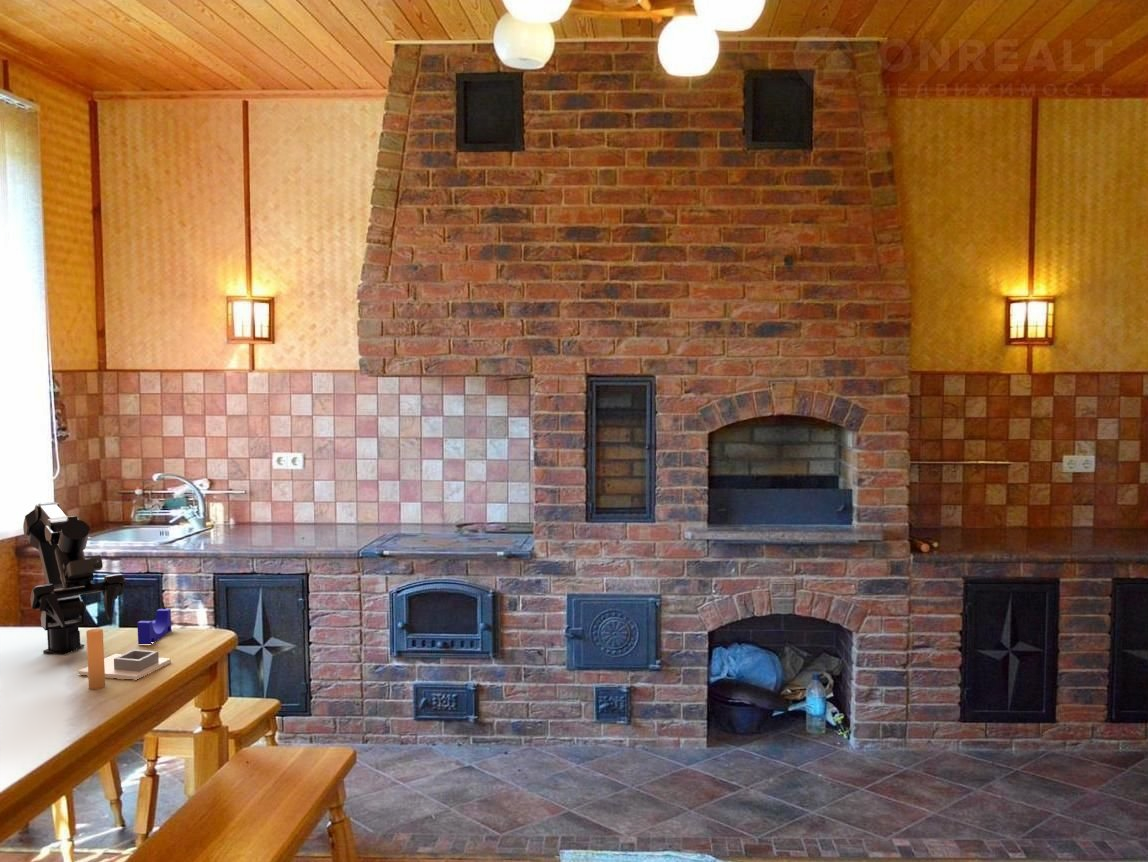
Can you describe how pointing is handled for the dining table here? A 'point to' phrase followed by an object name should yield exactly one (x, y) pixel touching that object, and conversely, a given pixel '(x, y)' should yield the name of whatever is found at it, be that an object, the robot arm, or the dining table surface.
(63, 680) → the dining table surface
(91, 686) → the toggle bar
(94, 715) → the dining table surface
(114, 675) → the keeper plate
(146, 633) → the cable clip
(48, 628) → the robot arm
